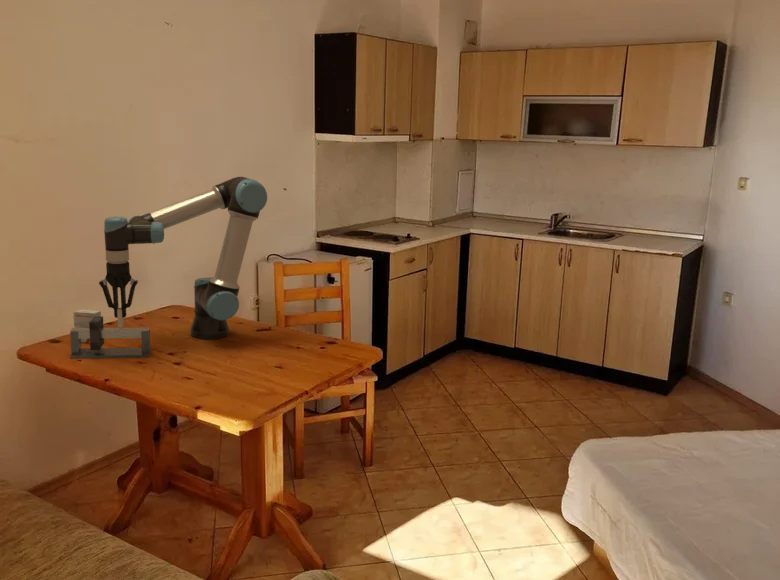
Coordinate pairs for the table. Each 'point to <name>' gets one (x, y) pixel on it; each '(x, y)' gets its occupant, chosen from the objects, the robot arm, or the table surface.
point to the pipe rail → (80, 352)
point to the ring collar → (96, 333)
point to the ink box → (84, 320)
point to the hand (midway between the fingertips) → (120, 326)
